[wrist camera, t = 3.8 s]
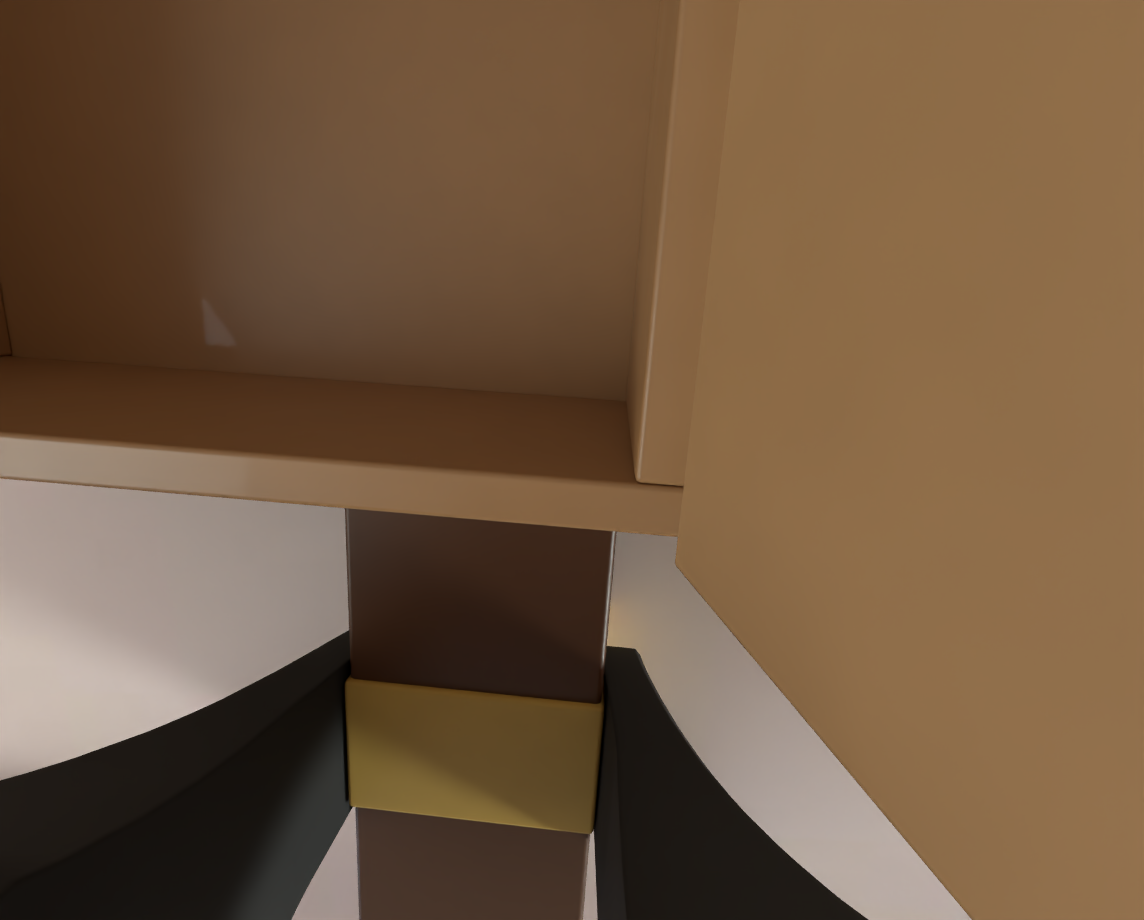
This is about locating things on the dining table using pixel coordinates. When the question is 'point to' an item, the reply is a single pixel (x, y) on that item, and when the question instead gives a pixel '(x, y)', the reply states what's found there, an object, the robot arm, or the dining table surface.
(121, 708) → the dining table surface
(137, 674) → the dining table surface
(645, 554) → the dining table surface
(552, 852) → the chocolate bar
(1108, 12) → the box flap
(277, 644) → the dining table surface
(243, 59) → the cardboard box
